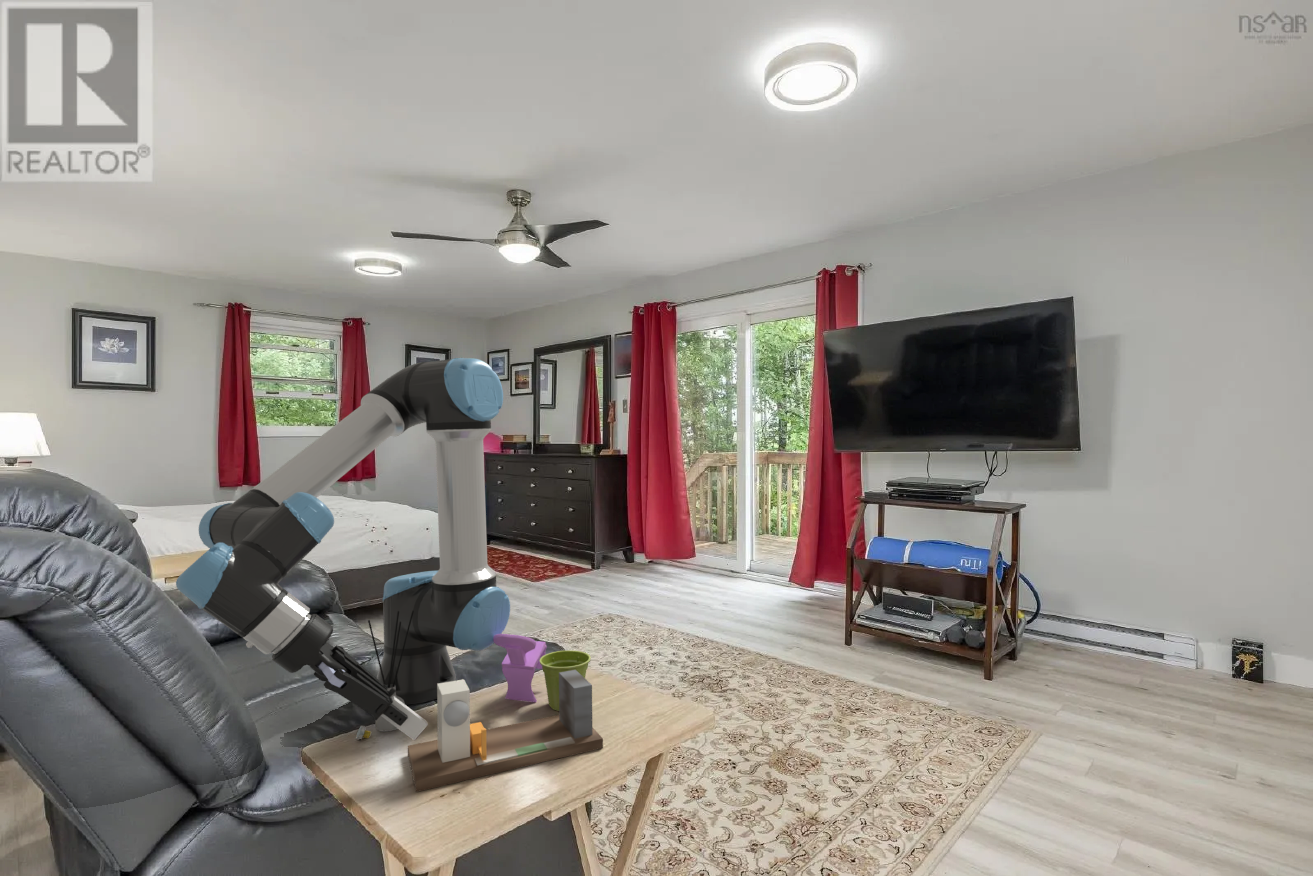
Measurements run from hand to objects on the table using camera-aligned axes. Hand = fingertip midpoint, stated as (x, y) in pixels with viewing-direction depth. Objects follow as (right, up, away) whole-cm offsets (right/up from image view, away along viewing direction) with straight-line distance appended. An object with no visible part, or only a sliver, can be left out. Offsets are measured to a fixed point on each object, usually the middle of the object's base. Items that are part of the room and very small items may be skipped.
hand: (420, 730), depth 95 cm
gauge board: (+11, -6, +6) cm, 14 cm away
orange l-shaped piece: (+8, -4, +2) cm, 10 cm away
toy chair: (+10, -4, +30) cm, 32 cm away
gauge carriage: (+4, -4, +2) cm, 7 cm away
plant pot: (+18, -6, +24) cm, 31 cm away
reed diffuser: (-10, -7, +13) cm, 18 cm away
